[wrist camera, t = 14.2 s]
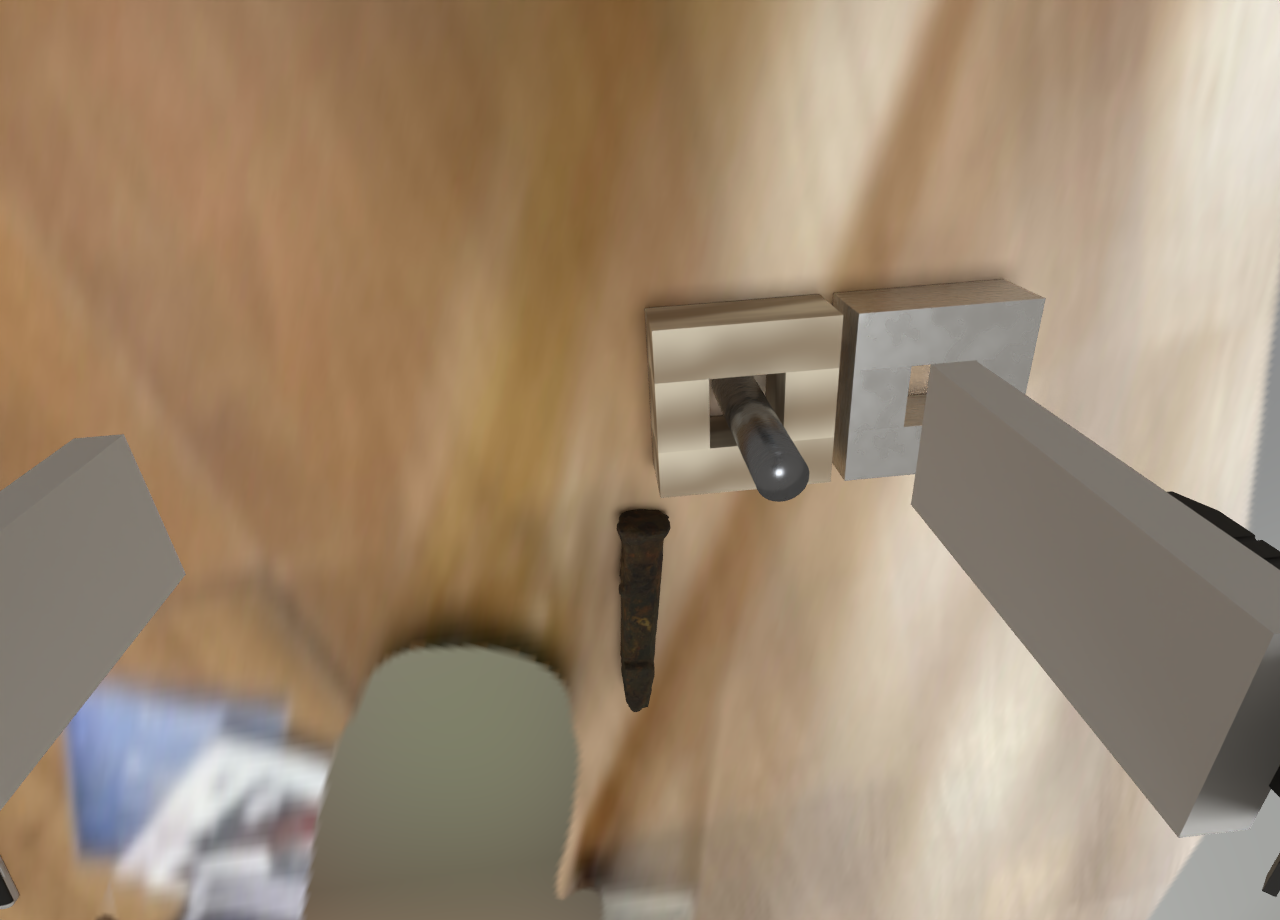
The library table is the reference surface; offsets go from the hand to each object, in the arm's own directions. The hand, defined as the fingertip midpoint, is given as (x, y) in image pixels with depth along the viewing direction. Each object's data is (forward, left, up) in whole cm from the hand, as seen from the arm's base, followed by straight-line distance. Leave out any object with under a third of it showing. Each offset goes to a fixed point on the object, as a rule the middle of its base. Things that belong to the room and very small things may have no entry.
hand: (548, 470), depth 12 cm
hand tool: (+33, +3, -37) cm, 50 cm away
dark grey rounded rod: (+14, +11, -37) cm, 41 cm away
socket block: (+14, +24, -37) cm, 46 cm away
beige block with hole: (+14, +11, -37) cm, 41 cm away
